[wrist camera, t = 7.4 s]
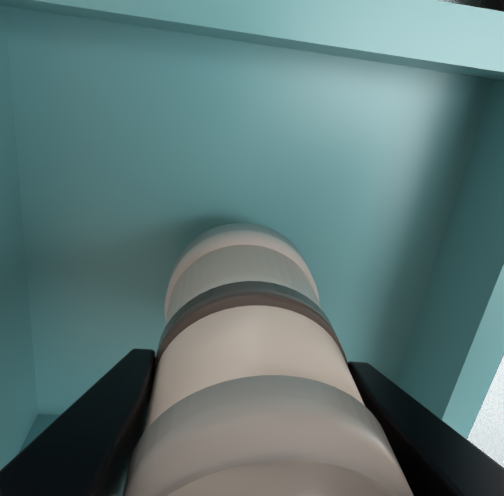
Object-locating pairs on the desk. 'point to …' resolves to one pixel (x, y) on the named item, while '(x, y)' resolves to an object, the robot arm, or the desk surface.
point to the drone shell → (494, 4)
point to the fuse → (254, 383)
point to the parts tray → (250, 181)
